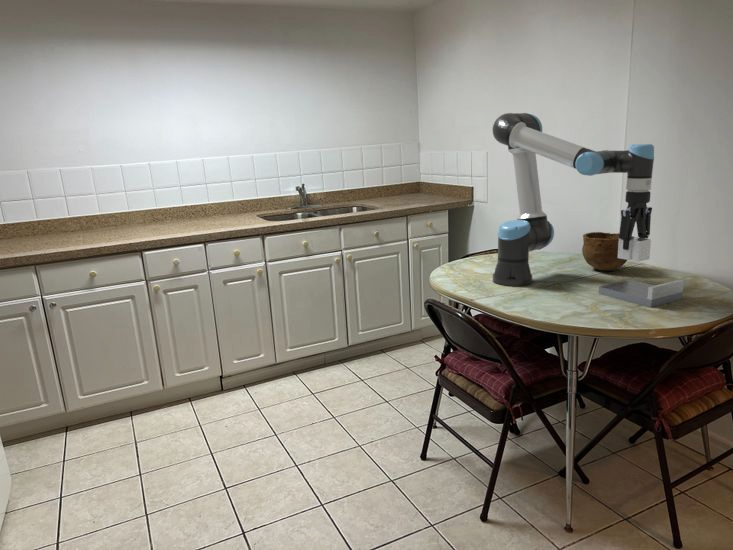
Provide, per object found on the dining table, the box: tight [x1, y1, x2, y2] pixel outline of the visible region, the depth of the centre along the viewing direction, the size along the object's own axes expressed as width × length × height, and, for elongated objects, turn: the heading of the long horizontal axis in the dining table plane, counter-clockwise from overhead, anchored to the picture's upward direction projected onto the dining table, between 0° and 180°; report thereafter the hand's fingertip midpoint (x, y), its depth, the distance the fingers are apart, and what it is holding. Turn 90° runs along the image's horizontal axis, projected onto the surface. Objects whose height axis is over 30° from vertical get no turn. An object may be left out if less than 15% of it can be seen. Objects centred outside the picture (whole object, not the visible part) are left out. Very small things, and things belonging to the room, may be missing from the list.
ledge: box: [598, 279, 685, 308], centre depth 189 cm, size 17×20×6 cm
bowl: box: [581, 231, 628, 272], centre depth 226 cm, size 19×19×15 cm
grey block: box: [618, 235, 652, 262], centre depth 189 cm, size 6×8×8 cm
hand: (632, 257), depth 189 cm, fingers closed on grey block, 6 cm apart
